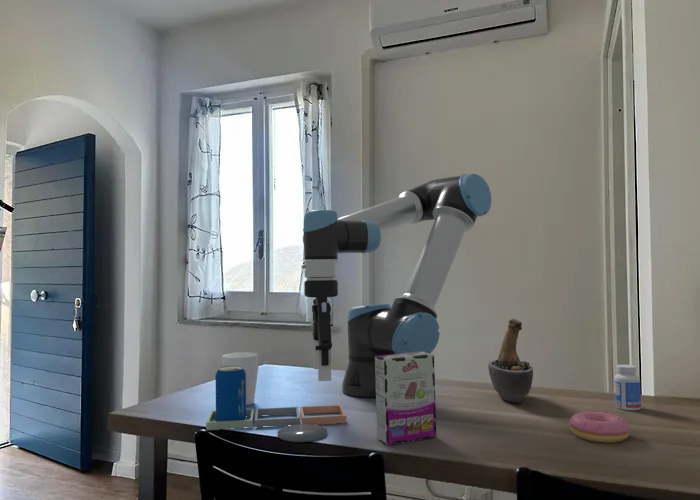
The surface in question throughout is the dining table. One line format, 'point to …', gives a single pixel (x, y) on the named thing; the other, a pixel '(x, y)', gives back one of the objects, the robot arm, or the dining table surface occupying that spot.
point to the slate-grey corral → (279, 420)
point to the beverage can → (230, 393)
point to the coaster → (302, 433)
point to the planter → (511, 368)
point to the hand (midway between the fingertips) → (322, 374)
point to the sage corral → (229, 422)
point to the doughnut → (599, 426)
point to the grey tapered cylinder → (250, 367)
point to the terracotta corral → (322, 419)
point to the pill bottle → (627, 388)
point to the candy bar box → (405, 397)
